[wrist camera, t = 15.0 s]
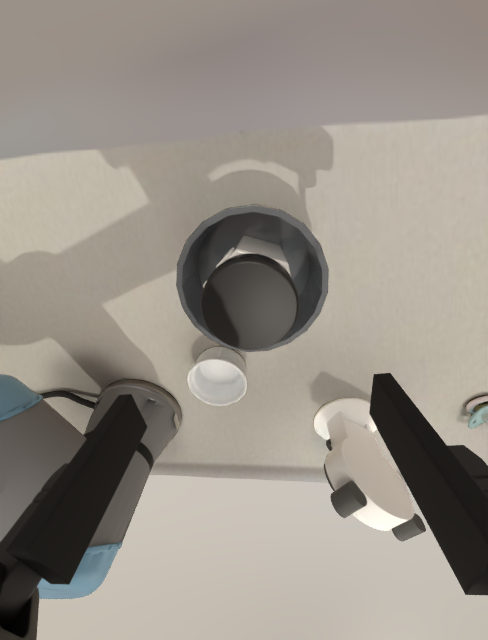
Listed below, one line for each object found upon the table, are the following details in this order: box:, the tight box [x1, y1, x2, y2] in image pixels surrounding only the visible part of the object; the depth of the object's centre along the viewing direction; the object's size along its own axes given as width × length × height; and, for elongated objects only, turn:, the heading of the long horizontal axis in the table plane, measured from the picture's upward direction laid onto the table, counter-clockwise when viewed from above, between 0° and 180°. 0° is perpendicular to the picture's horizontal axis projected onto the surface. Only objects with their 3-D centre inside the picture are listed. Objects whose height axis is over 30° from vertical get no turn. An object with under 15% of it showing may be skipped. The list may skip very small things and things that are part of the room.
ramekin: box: [187, 347, 247, 406], centre depth 35 cm, size 9×9×4 cm
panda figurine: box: [314, 398, 426, 541], centre depth 34 cm, size 12×11×15 cm
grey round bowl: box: [176, 204, 329, 352], centre depth 27 cm, size 15×15×8 cm
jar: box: [201, 235, 299, 350], centre depth 24 cm, size 9×8×12 cm
